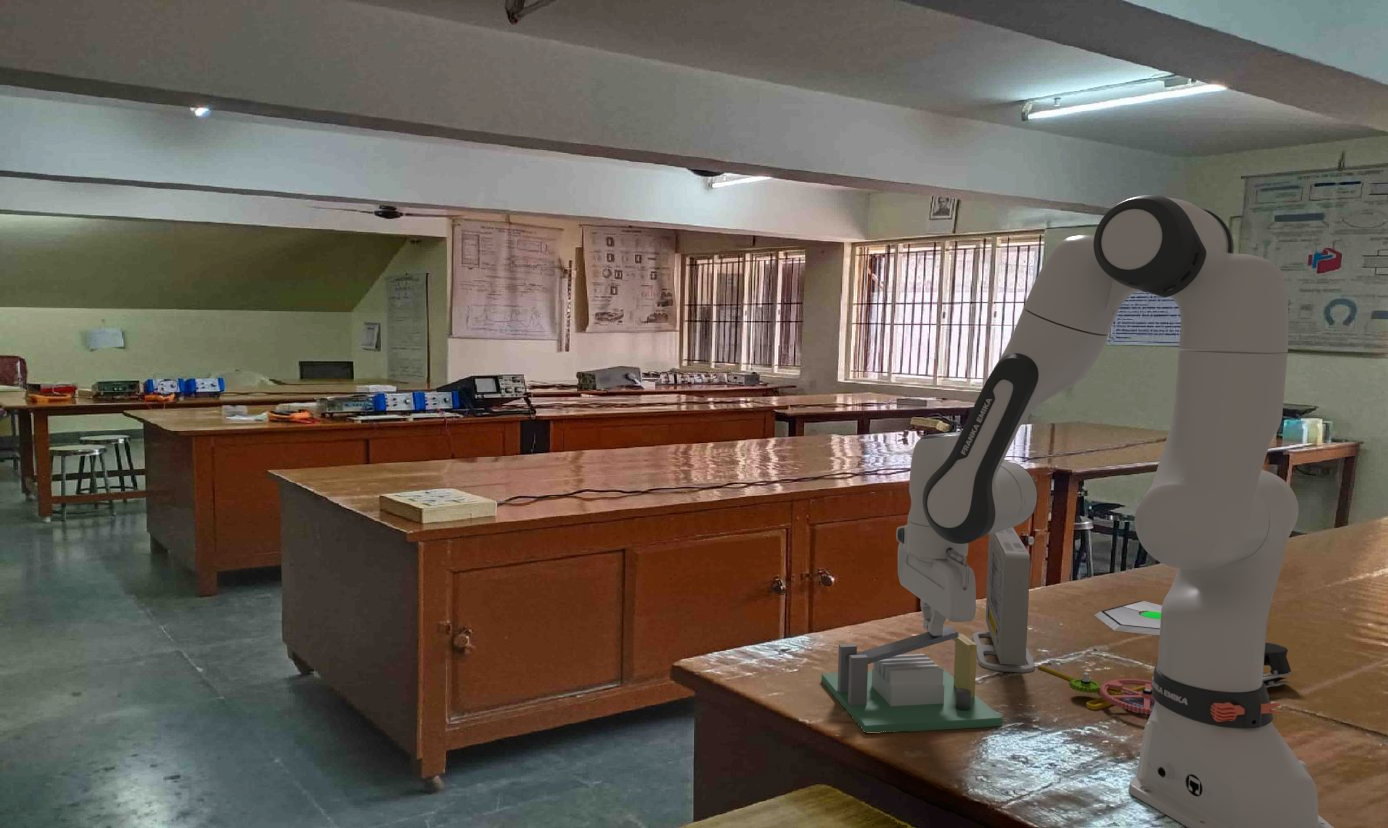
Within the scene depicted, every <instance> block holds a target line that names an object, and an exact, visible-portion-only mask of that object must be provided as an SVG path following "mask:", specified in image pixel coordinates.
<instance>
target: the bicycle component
mask: <svg viewBox="0 0 1388 828" xmlns="http://www.w3.org/2000/svg"><path fill="white" fill-rule="evenodd" d="M1288 650H1289V649H1287V647H1285V646H1282V645H1279V644H1277V643H1271V642H1265V653H1264V666H1269V667H1270V670H1269V672H1270V673H1266V674H1263V679H1262V681H1263V682H1264V684H1265V685H1266V689H1267V688H1270V687H1278V686H1282V685H1284V684H1285V685H1286V684H1289V683H1290V681H1287V680H1286V681H1285V679H1286V676H1290V675H1293V673H1292V669H1291V666H1290V663H1289V661H1288V659H1287V654H1288Z"/></svg>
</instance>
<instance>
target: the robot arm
mask: <svg viewBox="0 0 1388 828" xmlns="http://www.w3.org/2000/svg"><path fill="white" fill-rule="evenodd" d="M1234 247H1235V245H1234V239H1233V235H1232V233H1231V230H1230V228H1229V227H1228V225H1227V224H1226V223H1225V222H1224V221H1223V219H1221V218H1220V217H1219V216H1218V215H1217V214H1215V213H1213V212H1212V211H1210V210H1207V209H1205V208H1201V207H1199V206H1197V205H1195V204H1193V203H1192V202H1190V201H1187V200H1184V199H1179V198H1174V197H1165V196H1161V195H1156V194H1155V195H1154V194H1146V195H1145V194H1144V195H1138V196H1135V197H1131V198H1127V199H1126V200H1125V199H1124V200H1123V201H1121V202H1119V203H1117V204H1115V205H1114V206H1113V207H1112V208H1111V209H1109V210H1108V212H1106V213H1105V214H1104V216H1103V217H1102V218H1101V220H1100V221H1099V222H1098V225H1097V227H1096V230H1095V231H1094V235H1089V234H1085V235H1084V234H1079V235H1074V236H1068V237H1066V238H1064V239H1062V240H1061V241H1059V242H1058V243H1057V244H1056V245H1055V247H1053V249H1052V251H1051V253H1050V254H1049V255H1048V258H1047V259H1046V260H1045V262H1044V264H1043V266H1042V268H1041V269H1040V271H1039V273H1038V275H1037V277H1036V279H1035V281H1034V282H1033V285H1032V286H1031V289H1030V292H1028V293H1029V294H1028V296H1027V298H1026V300H1025V303H1024V306H1023V308H1022V310H1021V312H1020V313H1021V314H1020V316H1019V317H1018V320H1017V323H1016V325H1015V328H1014V330H1013V332H1012V334H1011V337H1010V338H1009V341H1008V342H1007V345H1006V347H1005V349H1004V351H1003V353H1002V354H1001V356H1000V358H999V360H998V361H997V363H996V365H995V366H994V368H993V370H992V371H991V373H990V374H989V376H988V378H987V380H986V381H985V382H984V385H983V387H982V389H981V390H980V393H979V394H978V396H977V398H976V401H975V403H974V405H973V407H972V409H971V411H970V413H969V415H968V417H967V420H966V422H965V424H964V426H963V428H962V430H961V431H954V432H944V433H943V432H942V433H934V434H933V433H932V434H927V435H924V436H922V437H920V438H919V439H918V440H917V441H916V443H915V445H914V448H913V452H912V455H911V456H912V457H911V460H910V461H911V462H910V470H909V482H908V483H909V486H908V492H909V496H910V502H911V503H910V508H909V509H910V510H909V512H908V515H907V524H905V525H901V526H898V527H896V531H895V538H896V541H897V542H898V543H899V544H898V546H897V576H898V580H899V583H900V585H901V586H902V587H903V588H905V589H906V590H907V591H909V592H910V593H912V595H915V596H916V597H917V598H918V599H920V603H919V604H920V609H921V614H922V617H923V624H922V625H923V626H922V627H923V630H925V632H929V633H930V634H931V635H933V636H941V635H942V633H943V627H944V624H945V622H946V620H948V621H949V622H953V623H964V622H966V623H968V622H972V621H973V620H974V618H975V616H976V612H977V611H976V609H977V599H976V596H977V592H976V591H977V590H976V586H977V585H976V577H975V572H974V570H973V568H972V567H970V566H969V564H968V561H967V556H968V555H969V543H972V542H974V541H976V540H979V539H981V538H983V537H985V536H987V535H988V536H989V534H992V533H996V532H999V531H1002V530H1005V529H1008V528H1012V527H1013V528H1015V527H1017V526H1020V525H1022V524H1023V523H1025V522H1027V521H1028V520H1029V519H1031V517H1032V516H1033V514H1034V512H1035V510H1036V508H1037V505H1038V501H1039V500H1038V495H1039V493H1038V488H1037V484H1036V481H1035V479H1034V478H1033V476H1032V474H1031V473H1030V472H1029V471H1028V469H1026V468H1025V467H1024V466H1022V465H1020V464H1018V463H1015V462H1011V461H1008V460H1006V457H1007V454H1008V452H1009V451H1010V449H1011V447H1012V444H1013V442H1014V439H1015V438H1016V435H1017V433H1018V431H1019V430H1020V427H1021V426H1022V424H1023V423H1024V421H1025V420H1026V419H1028V417H1029V416H1030V414H1032V412H1033V411H1034V410H1036V409H1037V408H1038V407H1040V405H1042V404H1044V403H1045V402H1047V401H1048V400H1049V399H1051V398H1052V397H1054V396H1056V395H1058V394H1060V393H1062V392H1063V391H1065V390H1068V389H1069V388H1071V387H1073V386H1075V385H1076V384H1079V383H1080V382H1082V380H1083V379H1084V378H1085V377H1086V376H1087V375H1088V374H1089V371H1090V370H1091V369H1092V367H1093V366H1094V364H1095V363H1096V361H1097V359H1098V358H1099V357H1100V355H1101V352H1102V351H1103V348H1104V346H1105V344H1106V341H1107V338H1108V335H1109V334H1110V332H1111V328H1112V327H1113V324H1114V320H1115V318H1116V317H1117V314H1118V312H1119V310H1120V308H1121V307H1122V304H1124V302H1125V301H1126V300H1127V299H1128V298H1129V297H1130V296H1132V295H1133V294H1135V293H1138V292H1140V291H1141V292H1143V293H1149V294H1151V295H1152V294H1153V295H1155V296H1158V297H1161V298H1169V297H1170V298H1172V299H1173V301H1174V302H1175V303H1176V305H1177V306H1178V307H1177V308H1178V309H1179V315H1180V316H1179V317H1180V334H1179V346H1178V349H1179V350H1178V357H1177V358H1178V359H1177V368H1176V379H1175V381H1176V382H1175V393H1174V404H1173V405H1174V406H1173V412H1172V417H1171V422H1170V427H1169V430H1168V434H1167V437H1166V439H1165V444H1164V447H1163V449H1162V452H1161V456H1160V459H1159V462H1158V466H1157V469H1156V471H1155V475H1154V478H1153V480H1152V483H1151V485H1150V486H1149V488H1148V490H1147V492H1146V493H1145V494H1144V495H1143V497H1142V498H1141V500H1140V501H1139V503H1138V505H1137V508H1136V510H1135V514H1134V528H1135V529H1134V530H1135V533H1136V536H1137V539H1138V541H1139V543H1140V545H1141V546H1142V549H1144V550H1145V551H1146V553H1148V555H1149V556H1151V558H1153V559H1154V560H1156V561H1157V562H1158V563H1161V564H1162V565H1165V566H1168V567H1171V568H1177V571H1176V575H1175V577H1174V580H1173V583H1172V585H1171V586H1170V589H1169V591H1168V592H1167V595H1165V597H1164V600H1163V601H1162V604H1161V605H1162V608H1161V623H1160V635H1159V640H1158V642H1159V643H1158V659H1157V664H1156V665H1154V668H1153V675H1152V677H1151V681H1152V686H1153V687H1152V696H1153V698H1154V699H1155V703H1154V707H1153V709H1152V712H1151V715H1149V717H1148V719H1147V720H1146V722H1145V724H1144V729H1143V735H1142V742H1141V746H1140V747H1141V748H1140V753H1139V758H1138V759H1139V760H1138V766H1137V771H1136V776H1135V777H1134V778H1132V779H1131V780H1130V782H1129V786H1128V792H1129V794H1131V795H1132V796H1134V797H1135V798H1137V799H1139V800H1141V801H1142V802H1144V803H1145V804H1147V805H1149V806H1151V807H1153V808H1154V809H1156V810H1157V811H1159V812H1161V813H1163V814H1164V815H1166V816H1168V817H1169V818H1171V819H1173V820H1174V821H1177V822H1178V823H1180V824H1181V825H1183V826H1185V827H1187V828H1335V827H1334V826H1332V825H1331V824H1330V823H1329V822H1328V821H1326V820H1325V819H1324V818H1323V817H1322V816H1320V815H1319V805H1318V803H1319V802H1318V801H1319V799H1318V792H1317V787H1316V784H1315V780H1314V779H1313V778H1312V776H1311V775H1310V771H1309V767H1308V765H1307V764H1306V763H1305V761H1303V760H1299V759H1298V757H1297V756H1296V754H1295V753H1294V752H1293V750H1292V749H1291V748H1290V746H1289V745H1288V744H1287V742H1286V740H1284V738H1283V737H1282V735H1281V734H1280V733H1279V731H1278V730H1277V728H1276V727H1275V726H1274V724H1273V720H1274V716H1273V714H1280V710H1275V709H1276V708H1277V707H1281V703H1279V702H1272V703H1271V701H1270V695H1269V693H1268V689H1267V688H1266V685H1267V684H1265V683H1264V682H1263V681H1262V679H1263V675H1264V666H1265V665H1264V653H1265V643H1266V641H1267V640H1266V638H1267V629H1268V628H1267V627H1268V621H1269V620H1268V619H1269V614H1270V610H1271V605H1272V600H1273V596H1274V594H1275V590H1276V587H1277V584H1278V579H1279V577H1280V572H1281V569H1282V565H1283V561H1284V556H1285V551H1286V548H1287V543H1288V541H1289V538H1290V535H1291V534H1292V532H1293V530H1294V529H1295V526H1296V524H1297V522H1298V518H1299V511H1300V510H1299V502H1298V499H1297V496H1296V494H1295V492H1294V491H1293V489H1292V487H1291V486H1290V485H1289V484H1288V483H1287V482H1286V480H1285V479H1283V478H1281V477H1280V476H1279V475H1277V474H1274V473H1272V472H1270V471H1267V470H1266V469H1263V467H1264V463H1265V461H1266V457H1267V454H1268V451H1269V448H1270V446H1271V443H1272V441H1273V439H1274V437H1275V435H1276V433H1277V432H1278V430H1279V428H1280V427H1281V423H1282V420H1283V414H1284V413H1283V409H1284V400H1285V399H1284V398H1285V389H1286V388H1285V387H1286V376H1287V365H1288V352H1289V337H1290V336H1289V335H1290V334H1289V332H1290V331H1289V330H1290V329H1289V327H1290V324H1289V323H1290V321H1289V319H1290V318H1289V306H1288V305H1289V304H1288V295H1287V294H1288V292H1287V288H1286V287H1287V286H1286V282H1285V277H1284V274H1283V272H1282V270H1281V269H1280V267H1279V266H1277V264H1275V263H1274V262H1272V261H1270V260H1269V259H1267V258H1264V257H1261V256H1257V255H1256V254H1255V255H1254V254H1249V253H1247V254H1246V253H1234V250H1235V248H1234ZM1274 708H1275V709H1274ZM1272 709H1273V710H1272Z"/></svg>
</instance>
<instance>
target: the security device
mask: <svg viewBox="0 0 1388 828" xmlns="http://www.w3.org/2000/svg"><path fill="white" fill-rule="evenodd" d="M1161 608H1162V604H1157V603H1153V602H1149V601H1145V600H1139V601H1133V602H1131V603H1126V604H1123V605H1119V606H1116V607H1112V608H1108V609H1104V610H1101V611H1099V612H1097V613H1095V614H1094V615H1093V616H1094V617H1096V618H1097V619H1098V620H1099V621H1101V622H1102V623H1104V624H1105V625H1107V626H1108V627H1109V628H1110V629H1112V630H1113V631H1114V632H1124V633H1125V632H1126V633H1134V634H1144V635H1152V636H1160V623H1161Z"/></svg>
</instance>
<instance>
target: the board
mask: <svg viewBox="0 0 1388 828" xmlns="http://www.w3.org/2000/svg"><path fill="white" fill-rule="evenodd" d="M958 635H959V637H957V638H954V639H952V640H953V642H954V666H953V668H954V669H953V675H952V674H951V673H949V671H946V669H944V668H943V667H940V666H939V665H938V664H935V662H934V660H931V658H930V657H929V656H927V655H926V653H912V654H911V653H909V654H908V653H907V654H906V653H905V654H900V655H897V656H894V657H890V658H887V659H884V660H880V661H877V662H874V663H873V667H872V668H871V670H869V664H868V657H867V656H866V655H852V654H855V653H858V646H857V645H856V644H855V643H843V644H842V643H841V644H838V655H837V656H838V657H837V658H838V659H837V661H838V662H837V663H838V665H837V672H828V673H827V672H826V673H821V682H822V684H823V685H824V686H825V687H826V688H827V690H828V691H829V692H830V694H832V696H833V695H834V696H833V697H834V699H835V700H836V701H837V700H838V701H839V702H840V703H839V702H838V701H837V702H838V703H839V705H841V706H843V707H842V708H843V709H844V708H845V709H846V710H845V709H844V710H845V712H846V713H847V712H848V713H849V714H850V715H851V716H852V717H853V719H854V720H855V721H856V722H857V723H858V724H859V726H860V727H862V729H863V730H864V731H865V732H881V731H882V732H883V731H884V732H885V731H886V732H889V731H890V732H893V731H895V732H894V733H900V732H899V731H910V732H925V731H940V730H955V729H957V730H959V729H960V730H961V729H975V728H990V727H1002V726H1003V716H1001V715H1000V714H999V713H998V712H997V711H995V710H994V709H993V708H991V707H990V706H989V705H988V704H987V703H986V702H984V700H982V699H980V697H978V695H976V678H977V677H976V675H977V674H976V673H977V670H976V669H977V644H976V643H974V642H973V640H971V639H970V638H968V637H967V636H966V635H965V634H963V633H958ZM849 654H850V655H849ZM847 655H849V662H848V661H847V660H846V656H847ZM848 713H847V714H848ZM849 714H848V715H849ZM850 715H849V716H850ZM851 716H850V717H851ZM853 719H852V720H853ZM854 720H853V721H854ZM855 721H854V722H855ZM856 722H855V723H856ZM859 726H858V727H859ZM860 727H859V728H860ZM897 731H898V732H897Z"/></svg>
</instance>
